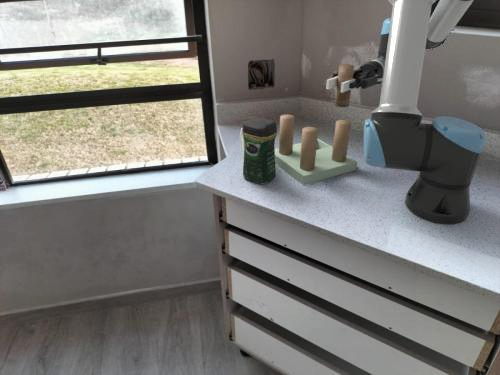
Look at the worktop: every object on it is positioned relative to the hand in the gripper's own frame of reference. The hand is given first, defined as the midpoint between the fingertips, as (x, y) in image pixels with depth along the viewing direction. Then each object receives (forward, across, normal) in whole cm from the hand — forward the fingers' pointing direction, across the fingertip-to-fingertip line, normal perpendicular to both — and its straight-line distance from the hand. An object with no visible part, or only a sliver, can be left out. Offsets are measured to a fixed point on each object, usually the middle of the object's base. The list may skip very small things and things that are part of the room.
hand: (334, 86), depth 109 cm
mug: (+19, +17, -24) cm, 35 cm away
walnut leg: (-5, 0, -7) cm, 9 cm away
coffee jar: (+24, +8, -24) cm, 35 cm away
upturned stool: (+6, +2, -24) cm, 25 cm away
